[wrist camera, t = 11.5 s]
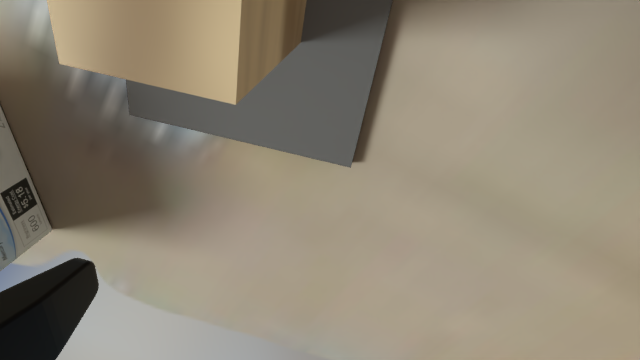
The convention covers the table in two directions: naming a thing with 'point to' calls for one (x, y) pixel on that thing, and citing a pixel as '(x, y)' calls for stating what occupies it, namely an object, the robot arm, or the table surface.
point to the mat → (293, 89)
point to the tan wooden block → (179, 41)
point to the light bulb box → (17, 202)
